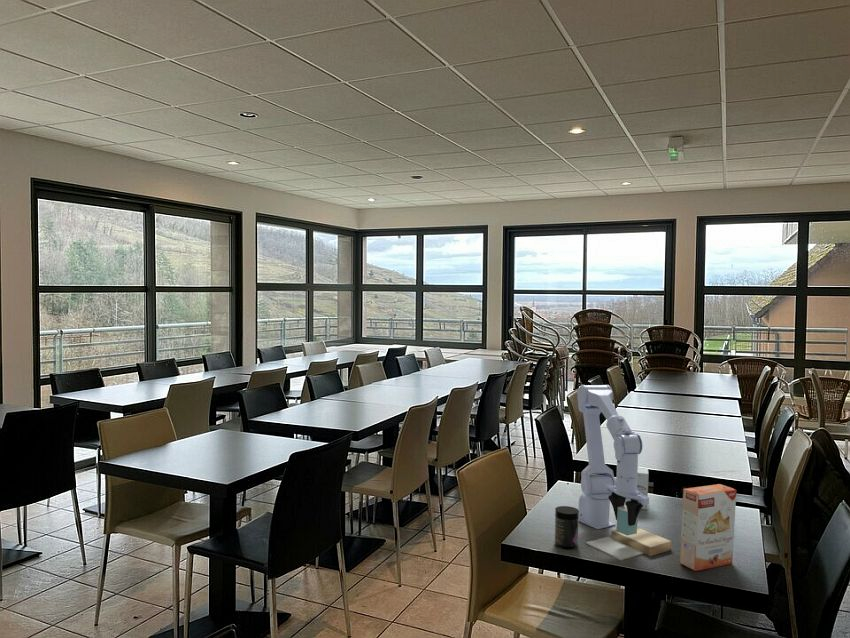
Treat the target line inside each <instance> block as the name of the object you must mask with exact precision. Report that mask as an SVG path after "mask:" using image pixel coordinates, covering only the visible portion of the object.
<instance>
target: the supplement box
mask: <svg viewBox="0 0 850 638" xmlns="http://www.w3.org/2000/svg"><path fill="white" fill-rule="evenodd" d="M637 490H638V492H639V493H641V494H643V495H644V496H646V497H648V496H649V469H648V468H646V467H645V468H644V467H638V471H637ZM627 501H631V499H628V498H626V500H625V502H627ZM624 506H626V504H624ZM641 510H645V511H647V510H648V505H643V507H642V508H641Z"/></svg>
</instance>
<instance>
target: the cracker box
mask: <svg viewBox="0 0 850 638" xmlns="http://www.w3.org/2000/svg"><path fill="white" fill-rule="evenodd" d="M682 492H683V493H682V509H681V511H682V513H681V526H680V527H681V528H680V529H681V531H680V551H679V564H681V565H683V566H685V567H686V568H688V569H690V570H692V571H695V572H698V571H702V570H708V569H713V568H718V567H721V566H727V565H732V564H733V558H734V557H733V555H734V554H733V553H734V541H735V540H734V539H735V538H734V537H735V522H736V521H735V520H736V506H737V505H736V503H737V489H735V488H733V487H730V486H727V485H724V484H721V483H717V484H711V485H710V484H709V485H703V486H695V487H688V488H683V491H682Z"/></svg>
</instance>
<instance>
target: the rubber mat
mask: <svg viewBox="0 0 850 638" xmlns="http://www.w3.org/2000/svg"><path fill="white" fill-rule="evenodd" d="M585 544H586V545H588V546H589V547H592V548H594V549H596V550H598V551H601V552H602V553H604V554H606V555H609V556H611V557H612V558H615V559H617V560H620V561H624V560H627V559H631V558H633V557H637V556H640V555H643V554H644V553H643V552H641V551H639V550H636V549H634V548H632V547H630V546H628V545H625V544H623V543H621V542H619V541H616V540H614V539H612V537H610V536H605V537H603V538H601V537H600V538H598V539H594V540H590V541H586V543H585Z"/></svg>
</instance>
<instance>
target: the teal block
mask: <svg viewBox="0 0 850 638" xmlns="http://www.w3.org/2000/svg"><path fill="white" fill-rule="evenodd" d="M638 517H639V515H638V516H637V519H636V523H635V525H632V526H629V525H628V511H627V507H626V506H625V505H624V506H621V507H618V510H617V520H616V529H615V530H616V531H618V532H620V533H622V534H625V535H627V536H628V535H632V534H637V527H638Z"/></svg>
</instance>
